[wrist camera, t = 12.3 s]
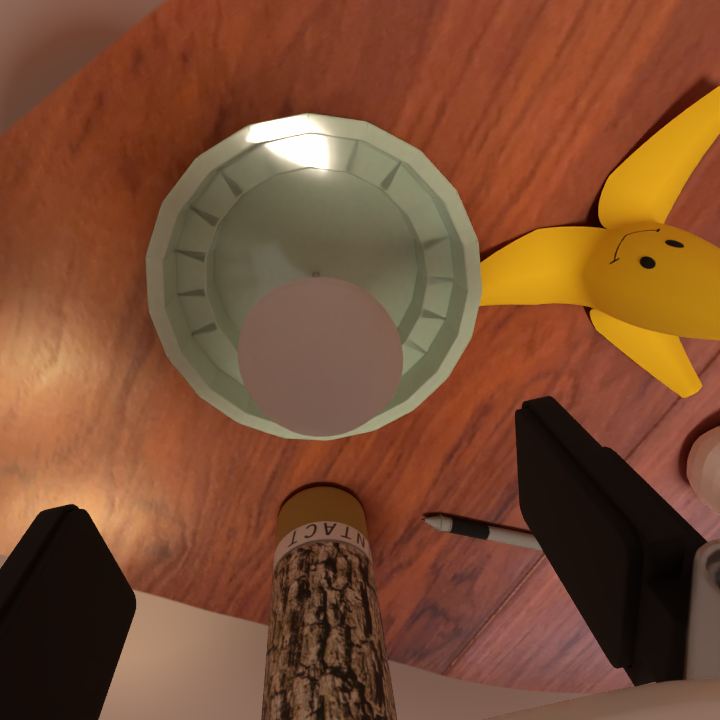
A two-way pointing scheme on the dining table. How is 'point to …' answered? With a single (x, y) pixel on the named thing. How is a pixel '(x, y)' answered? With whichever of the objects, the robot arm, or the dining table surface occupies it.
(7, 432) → the dining table surface
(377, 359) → the lollipop
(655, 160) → the banana peel
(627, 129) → the dining table surface
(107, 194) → the dining table surface
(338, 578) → the paper tube
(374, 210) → the bowl
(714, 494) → the cat figurine
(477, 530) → the pen
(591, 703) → the robot arm
